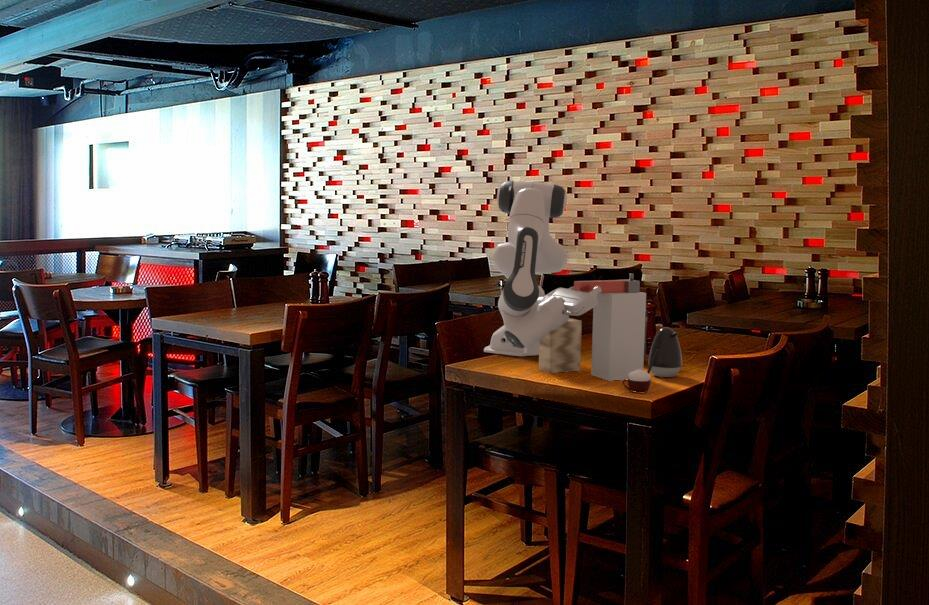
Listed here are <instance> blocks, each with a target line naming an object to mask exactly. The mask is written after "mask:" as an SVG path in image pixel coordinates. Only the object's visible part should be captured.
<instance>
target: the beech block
mask: <svg viewBox="0 0 929 605" xmlns="http://www.w3.org/2000/svg"><path fill="white" fill-rule="evenodd" d="M582 324H583V321H582V320H580V319H576V318H573V317H572V318H571V317H569V320H568V321H567V322H566V323H564V324H563V325H561V326H560V327H558V328H557V329H555V330H553V331H550V332H549V333H548V334H547V335H546V336H545V337H544V338H542V339H541V340H539V355H538V370H539V369H540V370H539V371H541V370H543V371H542V372H544V371H545V373H547V372H548V373H547V374H549V373H550V374H559V373H558V372H564V373H570V372H569V371H577V372H581V362H582V360H581V358H582V356H581V355H582V331H583V330H582V328H583V326H582ZM567 371H568V372H567Z"/></svg>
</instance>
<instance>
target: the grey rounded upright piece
mask: <svg viewBox="0 0 929 605" xmlns="http://www.w3.org/2000/svg"><path fill="white" fill-rule="evenodd" d="M678 335H679V333H678V331H675V330H674V329H673V328H671V327H667V326H665V327H662V328H659V329H658V331H657V332H656V334H655V336H654V338H653V340H652V343H651V346H650V350H649V353H648V358H647V364H648V367H649V366H650V364H651V361H652V359H653V356H654V354H655V352H656V350H657V349H658V354H657V356H656V359H655V361H654V363H653V366H652V368H651V371H650V373H651V374H653V376H656V377H657V376H658V378H663V377H671V378H673V377H676V376H677V375H678V374H679V372H680V371H681V367H682V366H683V357H682V355H683V354H682V350H681V346H680V342H679V338H678Z"/></svg>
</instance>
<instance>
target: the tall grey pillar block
mask: <svg viewBox="0 0 929 605" xmlns="http://www.w3.org/2000/svg"><path fill="white" fill-rule="evenodd" d="M596 299H597V302H598V304H597V305H596V306H595V307H594V308H592V309H593V310H592V314H593V315H592V317H593V318H592V340H591V342H592V343H591V367H590V368H591V371H590V375H591V376H592V375H593V377H595V376H596V378H598V377H599V379H601V378H602V379H601V380H604V379H605V380H604V381H607V380H608V381H607V382H614V381H613V380H620V381H623V380H625V379H628V373H630V372H632V371H635V370H637V369H641V370H644V361H645V360H644V337H645V311H646V309H647V307H646V304H647V292H641V291H640V293H599V294H598V295H597V296H596Z"/></svg>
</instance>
